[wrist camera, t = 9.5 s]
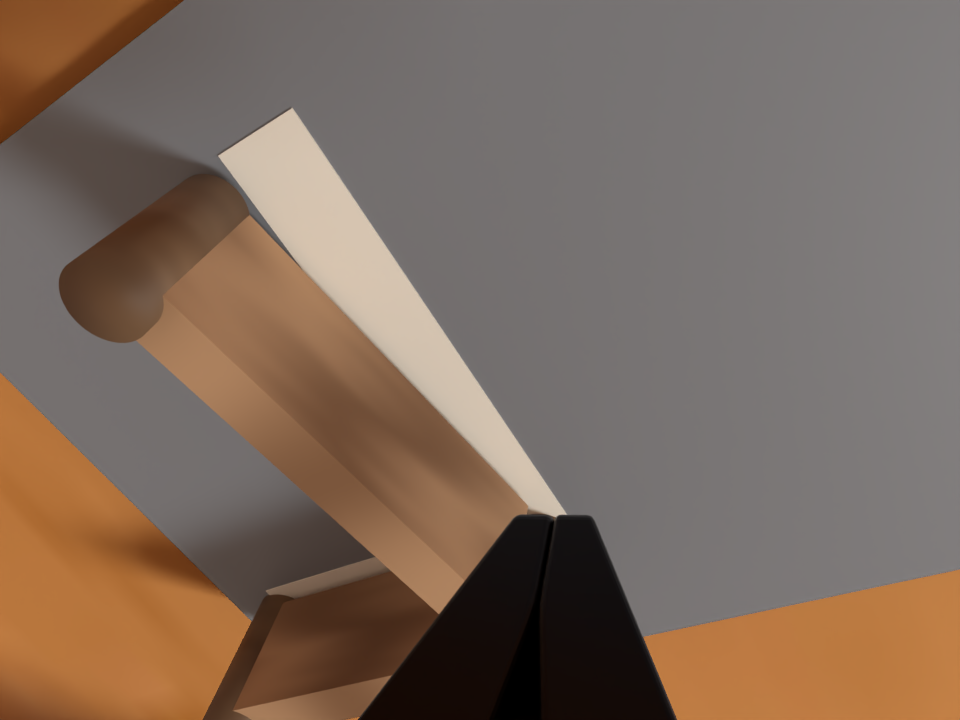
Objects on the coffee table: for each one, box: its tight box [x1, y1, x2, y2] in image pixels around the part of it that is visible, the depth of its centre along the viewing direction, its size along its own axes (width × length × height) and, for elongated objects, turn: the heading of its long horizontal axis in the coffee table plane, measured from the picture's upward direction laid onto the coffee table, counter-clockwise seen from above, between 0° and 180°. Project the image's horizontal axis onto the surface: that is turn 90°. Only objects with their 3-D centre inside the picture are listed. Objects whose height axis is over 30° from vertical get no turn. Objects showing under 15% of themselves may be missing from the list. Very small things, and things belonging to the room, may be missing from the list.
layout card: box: [0, 0, 960, 637], centre depth 17 cm, size 24×19×1 cm
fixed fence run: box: [203, 514, 556, 720], centre depth 20 cm, size 11×2×5 cm, turn 121°
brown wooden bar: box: [59, 174, 528, 614], centre depth 16 cm, size 11×2×4 cm, turn 40°
